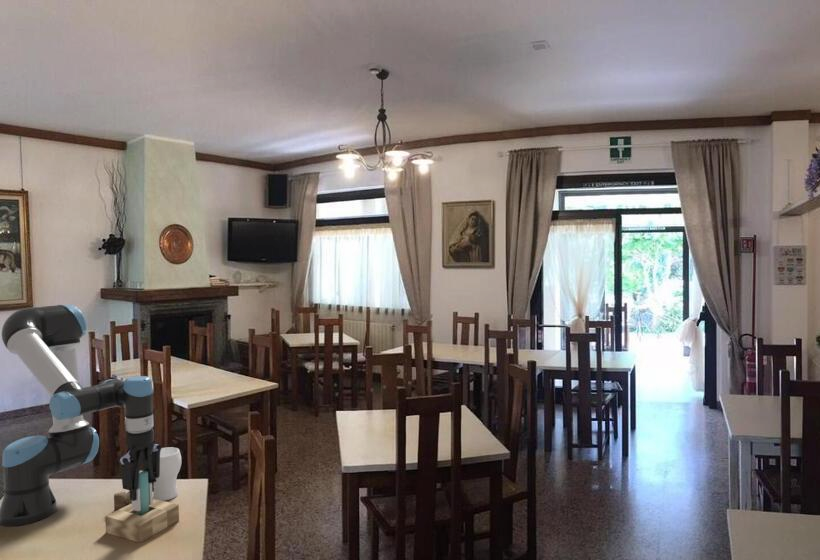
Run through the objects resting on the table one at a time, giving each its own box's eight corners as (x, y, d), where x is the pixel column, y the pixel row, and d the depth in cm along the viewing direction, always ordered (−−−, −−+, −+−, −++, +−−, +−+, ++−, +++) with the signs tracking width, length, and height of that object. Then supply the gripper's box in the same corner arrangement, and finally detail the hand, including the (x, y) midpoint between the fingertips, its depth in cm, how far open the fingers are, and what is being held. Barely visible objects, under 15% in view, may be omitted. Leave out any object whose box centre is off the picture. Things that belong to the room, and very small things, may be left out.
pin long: (133, 520, 166) (131, 474, 165) (143, 515, 169) (141, 469, 168) (142, 522, 164) (140, 475, 164) (152, 517, 168) (150, 471, 167)
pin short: (111, 511, 177) (111, 495, 177) (121, 506, 180) (121, 491, 180) (119, 513, 176) (119, 497, 175) (129, 508, 179) (129, 493, 179)
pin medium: (139, 510, 179) (136, 501, 185) (142, 499, 179) (139, 490, 186) (127, 510, 177) (124, 500, 183) (130, 498, 177) (127, 489, 184)
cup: (169, 504, 181) (168, 459, 181) (140, 501, 184) (139, 456, 183) (188, 490, 192) (187, 447, 191) (161, 488, 194) (160, 445, 193)
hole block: (105, 532, 163) (105, 516, 163) (146, 512, 176) (145, 496, 176) (139, 542, 158) (139, 525, 157) (179, 520, 170) (178, 504, 170)
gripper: (123, 439, 156) (126, 521, 157) (171, 423, 171) (174, 497, 172) (105, 436, 159) (108, 516, 160) (154, 420, 174) (156, 493, 176)
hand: (142, 506), depth 166 cm, fingers closed on pin long, 3 cm apart
